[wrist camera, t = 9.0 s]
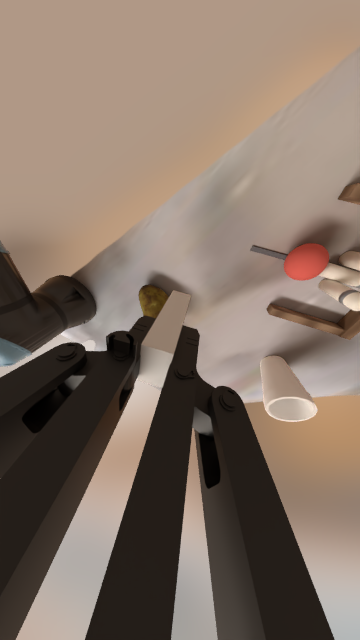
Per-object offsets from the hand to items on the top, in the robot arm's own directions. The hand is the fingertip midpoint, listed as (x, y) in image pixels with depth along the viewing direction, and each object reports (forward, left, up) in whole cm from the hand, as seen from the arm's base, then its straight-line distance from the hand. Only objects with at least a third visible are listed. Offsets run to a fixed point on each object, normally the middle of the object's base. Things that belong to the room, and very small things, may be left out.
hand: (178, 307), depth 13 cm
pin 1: (+25, +1, -24) cm, 34 cm away
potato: (-7, -14, -24) cm, 28 cm away
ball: (+17, +4, -21) cm, 27 cm away
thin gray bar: (+13, +4, -24) cm, 27 cm away
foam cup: (+28, -22, -24) cm, 43 cm away
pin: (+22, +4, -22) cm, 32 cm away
